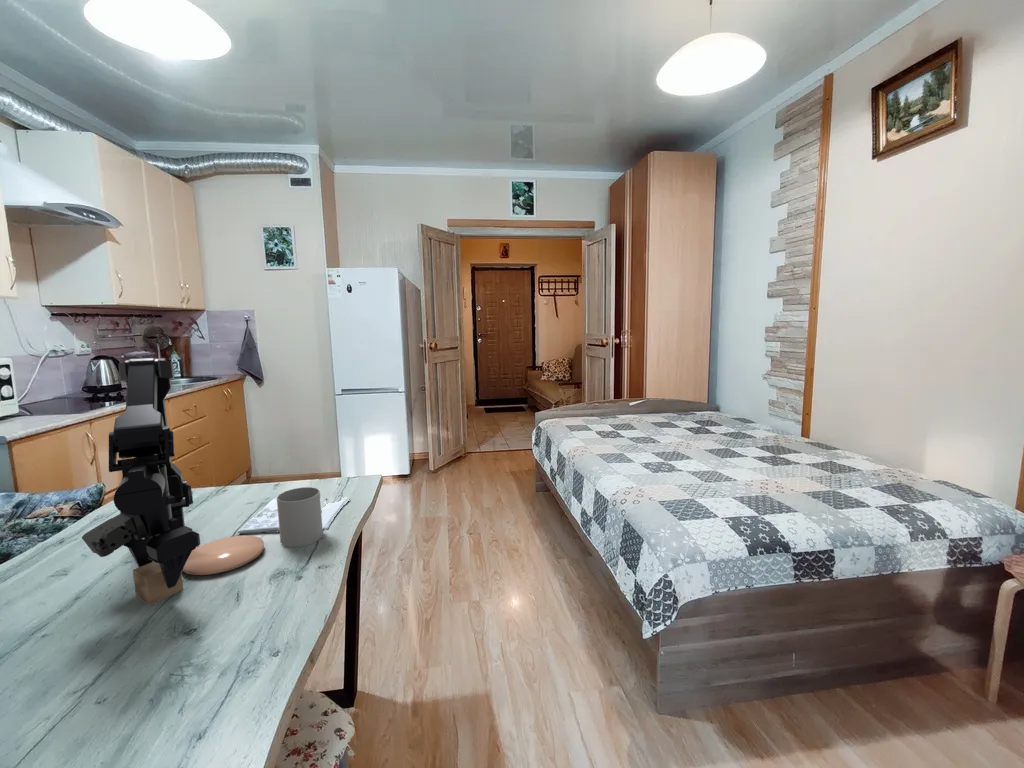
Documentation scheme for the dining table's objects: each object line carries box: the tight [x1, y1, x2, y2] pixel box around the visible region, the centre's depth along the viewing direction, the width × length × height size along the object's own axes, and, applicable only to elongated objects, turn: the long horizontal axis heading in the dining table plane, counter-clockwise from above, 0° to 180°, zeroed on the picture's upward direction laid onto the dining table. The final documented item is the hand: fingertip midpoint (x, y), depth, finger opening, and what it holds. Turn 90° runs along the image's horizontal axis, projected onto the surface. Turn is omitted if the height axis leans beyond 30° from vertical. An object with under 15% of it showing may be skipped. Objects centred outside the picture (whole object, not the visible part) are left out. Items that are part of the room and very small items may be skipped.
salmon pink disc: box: [182, 534, 265, 576], centre depth 90 cm, size 14×14×1 cm
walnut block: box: [132, 561, 184, 606], centre depth 78 cm, size 5×5×5 cm
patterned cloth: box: [237, 496, 349, 535], centre depth 110 cm, size 19×20×2 cm
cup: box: [276, 486, 324, 548], centre depth 97 cm, size 8×8×10 cm
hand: (158, 579), depth 78 cm, fingers open, 9 cm apart
